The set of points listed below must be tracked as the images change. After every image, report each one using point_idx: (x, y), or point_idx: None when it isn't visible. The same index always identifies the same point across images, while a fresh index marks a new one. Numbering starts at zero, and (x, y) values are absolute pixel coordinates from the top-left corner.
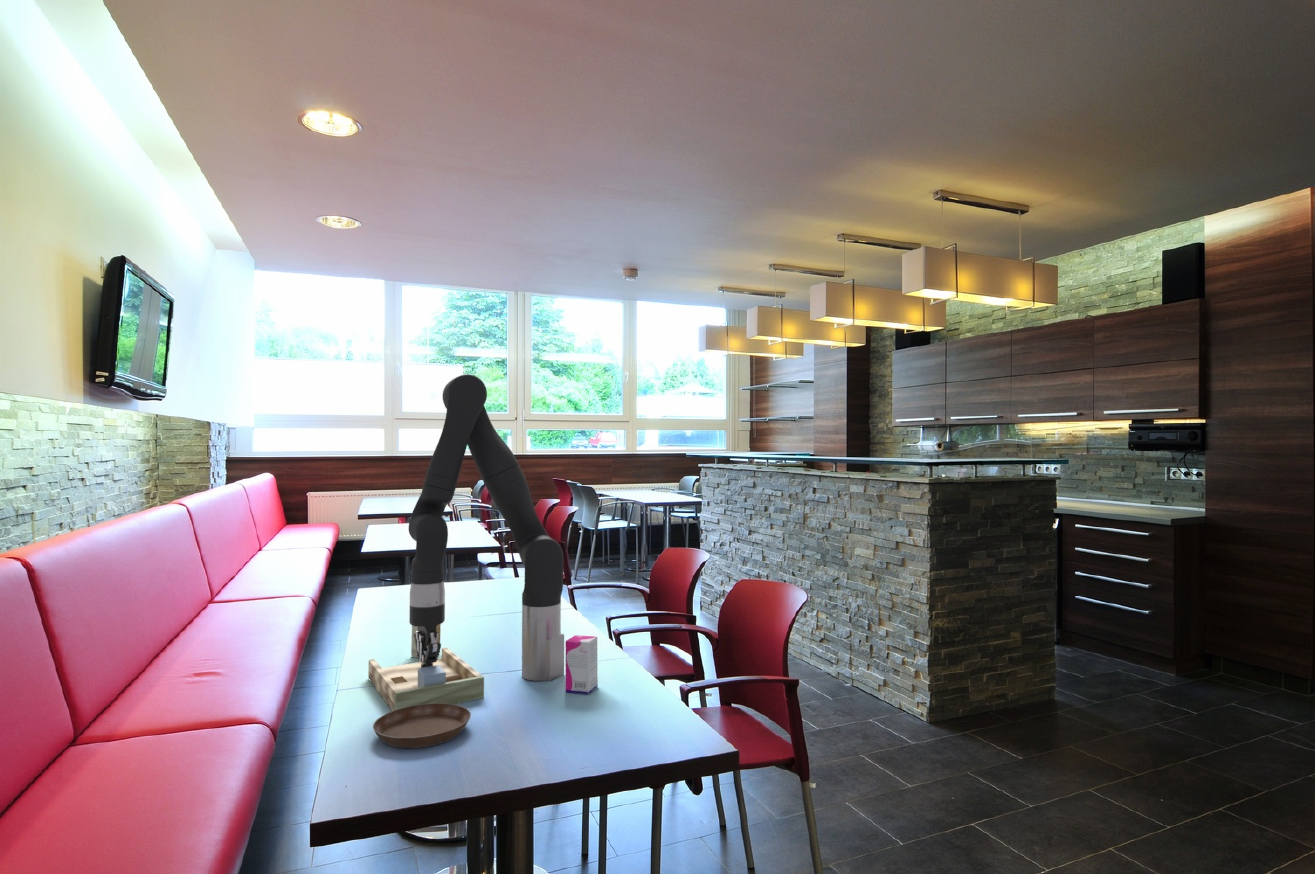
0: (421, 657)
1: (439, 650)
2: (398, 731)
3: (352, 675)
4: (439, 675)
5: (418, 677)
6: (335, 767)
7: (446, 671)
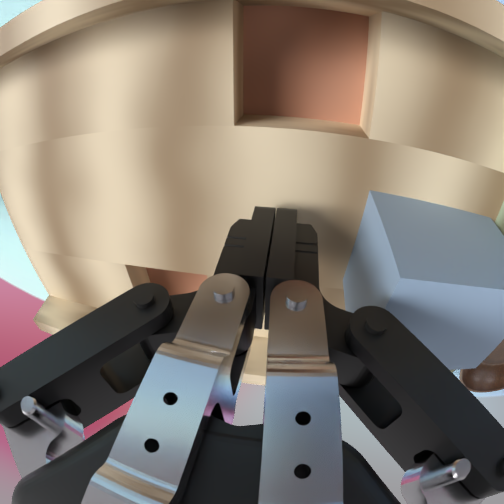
0: (243, 368)
1: (493, 421)
2: (498, 345)
3: (42, 297)
4: None
5: None
6: (487, 395)
7: (125, 67)
